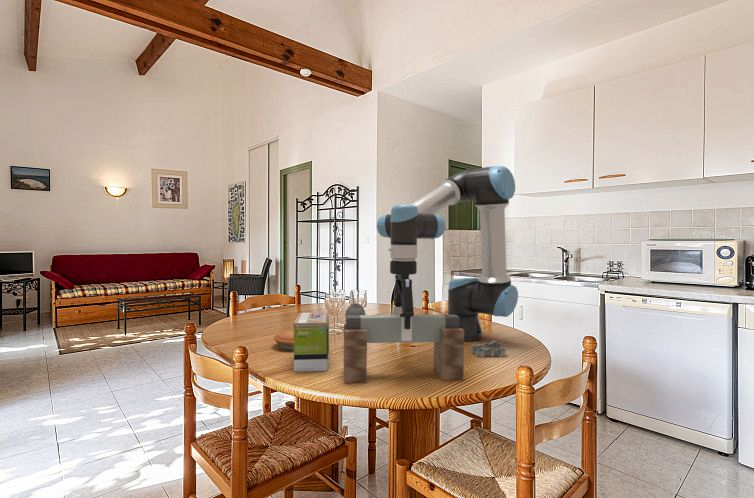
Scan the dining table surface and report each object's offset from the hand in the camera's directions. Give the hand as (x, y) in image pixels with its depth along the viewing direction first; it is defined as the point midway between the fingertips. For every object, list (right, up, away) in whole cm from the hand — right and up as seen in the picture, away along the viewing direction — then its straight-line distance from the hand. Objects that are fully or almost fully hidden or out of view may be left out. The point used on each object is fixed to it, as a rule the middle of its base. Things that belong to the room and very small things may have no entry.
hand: (402, 334), depth 118 cm
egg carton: (+30, -12, +22) cm, 39 cm away
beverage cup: (-15, -11, +28) cm, 34 cm away
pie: (-36, -11, +29) cm, 48 cm away
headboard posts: (0, -12, 0) cm, 12 cm away
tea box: (-27, -11, +10) cm, 31 cm away
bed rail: (0, -2, 0) cm, 2 cm away
